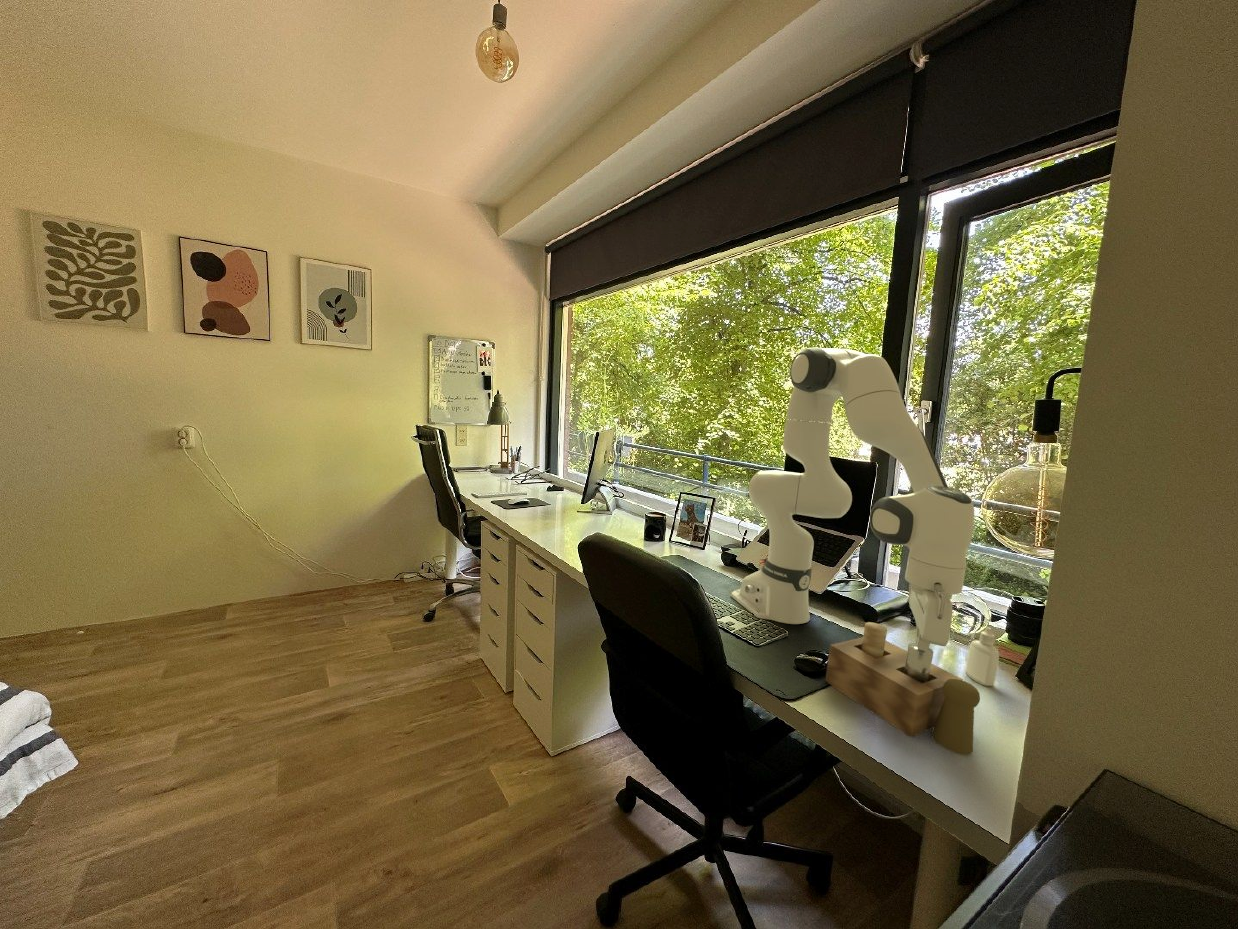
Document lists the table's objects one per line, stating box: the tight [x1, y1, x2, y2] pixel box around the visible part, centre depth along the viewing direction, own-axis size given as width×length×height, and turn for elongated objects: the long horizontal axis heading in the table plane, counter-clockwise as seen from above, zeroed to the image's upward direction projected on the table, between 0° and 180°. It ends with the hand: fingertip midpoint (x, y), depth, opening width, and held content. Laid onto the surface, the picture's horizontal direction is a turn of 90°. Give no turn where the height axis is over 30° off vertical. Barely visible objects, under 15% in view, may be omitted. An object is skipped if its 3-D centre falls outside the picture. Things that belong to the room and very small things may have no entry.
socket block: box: [825, 636, 964, 738], centre depth 95 cm, size 18×14×8 cm
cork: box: [931, 679, 981, 756], centre depth 83 cm, size 6×6×11 cm
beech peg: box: [861, 621, 888, 658], centre depth 98 cm, size 4×4×8 cm
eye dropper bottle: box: [965, 626, 1000, 687], centre depth 105 cm, size 4×6×12 cm
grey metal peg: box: [904, 642, 934, 683], centre depth 90 cm, size 4×4×8 cm
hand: (921, 647), depth 89 cm, fingers closed
